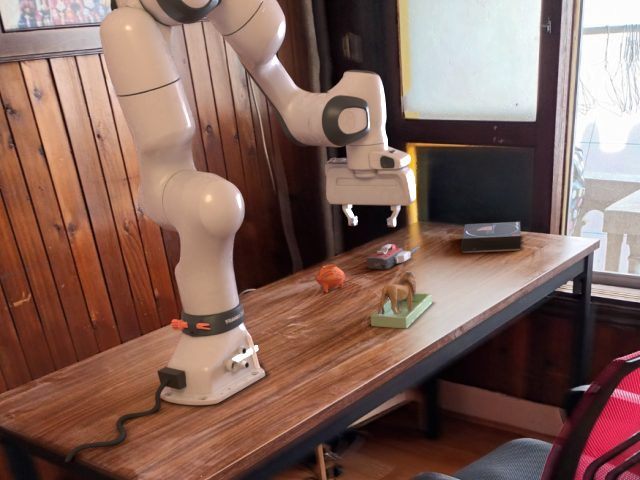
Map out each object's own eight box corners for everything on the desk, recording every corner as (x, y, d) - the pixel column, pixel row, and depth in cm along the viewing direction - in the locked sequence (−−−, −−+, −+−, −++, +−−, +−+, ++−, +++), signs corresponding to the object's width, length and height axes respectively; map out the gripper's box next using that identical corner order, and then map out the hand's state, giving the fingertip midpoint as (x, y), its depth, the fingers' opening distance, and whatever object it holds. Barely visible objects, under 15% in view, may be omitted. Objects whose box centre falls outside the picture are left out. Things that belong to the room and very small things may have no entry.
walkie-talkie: (391, 271, 207) (422, 251, 221) (390, 255, 204) (421, 236, 219) (364, 269, 211) (395, 250, 225) (362, 253, 208) (394, 235, 222)
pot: (308, 289, 198) (309, 263, 195) (331, 289, 203) (333, 263, 200) (326, 294, 193) (328, 267, 190) (350, 293, 198) (352, 266, 195)
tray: (406, 328, 170) (405, 318, 168) (371, 326, 173) (370, 315, 171) (431, 303, 182) (431, 293, 181) (398, 301, 186) (398, 291, 184)
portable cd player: (463, 238, 231) (463, 224, 228) (519, 235, 228) (520, 221, 226) (460, 252, 217) (460, 238, 215) (520, 250, 215) (520, 235, 212)
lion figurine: (400, 309, 182) (400, 270, 179) (420, 310, 180) (421, 271, 177) (372, 316, 170) (372, 274, 167) (393, 317, 168) (394, 275, 164)
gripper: (317, 160, 161) (324, 227, 168) (406, 160, 153) (409, 230, 161) (330, 155, 166) (336, 221, 173) (417, 155, 158) (419, 223, 166)
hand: (372, 225), depth 167 cm, fingers open, 8 cm apart
